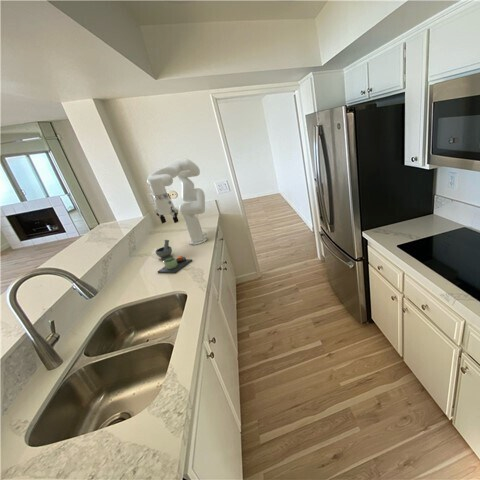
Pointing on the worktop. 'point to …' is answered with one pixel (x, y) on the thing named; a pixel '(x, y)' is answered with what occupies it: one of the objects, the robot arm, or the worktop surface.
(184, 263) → the scale
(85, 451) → the worktop surface
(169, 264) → the bowl
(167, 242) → the mortar and pestle
